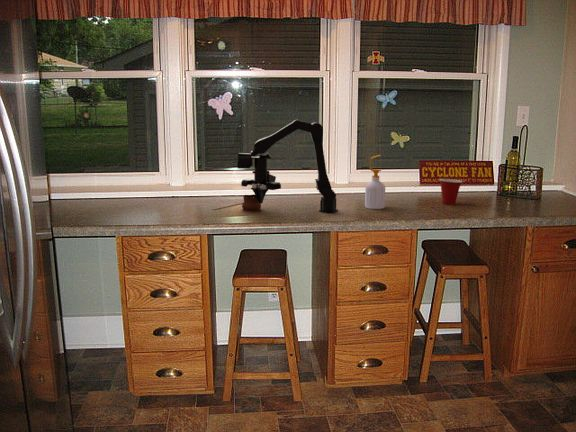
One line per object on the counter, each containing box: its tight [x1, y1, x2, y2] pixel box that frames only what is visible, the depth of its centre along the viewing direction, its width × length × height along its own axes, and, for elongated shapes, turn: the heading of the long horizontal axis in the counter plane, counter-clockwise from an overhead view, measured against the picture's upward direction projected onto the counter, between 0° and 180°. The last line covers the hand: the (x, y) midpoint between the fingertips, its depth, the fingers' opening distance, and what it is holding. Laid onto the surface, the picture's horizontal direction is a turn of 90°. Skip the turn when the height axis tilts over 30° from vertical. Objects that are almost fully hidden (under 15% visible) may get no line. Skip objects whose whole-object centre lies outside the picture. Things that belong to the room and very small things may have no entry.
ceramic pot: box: [241, 194, 262, 213], centre depth 248 cm, size 18×18×7 cm
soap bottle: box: [364, 154, 386, 210], centre depth 252 cm, size 9×9×25 cm
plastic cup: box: [439, 178, 463, 206], centre depth 264 cm, size 11×11×12 cm
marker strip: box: [211, 201, 244, 211], centre depth 256 cm, size 1×22×1 cm, turn 143°
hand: (260, 203), depth 244 cm, fingers closed
